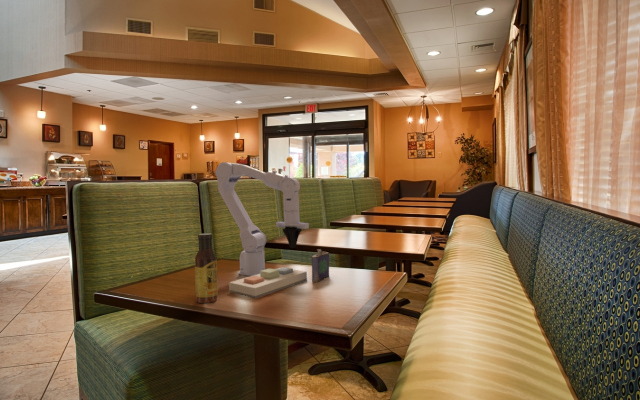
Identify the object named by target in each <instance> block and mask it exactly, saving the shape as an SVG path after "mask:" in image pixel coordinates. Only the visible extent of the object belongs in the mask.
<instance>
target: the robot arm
mask: <svg viewBox="0 0 640 400" xmlns="http://www.w3.org/2000/svg"><path fill="white" fill-rule="evenodd" d="M214 174H215V176H216V179H217V181H216V182H217V190H218V193H219V195H220V196H221V198H222V200H223V202H224V203H225V205H226V207H227V209H228V210H229V213H230V214H231V216H232V218H233V219H234V222H235V223H236V225H237V226H238V228H239V238H240V240H241V241H240V242H241V247H242V248H243V250H242V251H241V252H240V254H239V272H237V273H238V275H242V276H247V277H250V276H253V275H257V274H260V271H262V270H265V269H266V264H265V261H266V260H265V247H264V246H265V245H266V244H267V237H266V234H265V233H264V232H262V231H261V229H260V228H259V227H258V226H257V225H255V224H254V223H253V221H252V219H251V218H250V216H249V214H248V212H247V210H246V209H245V206H244V205H243V203H242V201H241V199H240V198H239V196H238V194H237V192H236V190H235V186H236V184H237V182H238V181H239V179H241V177H245V176H246V177H250V178H253V179H256V180H259V181H262V182H263V184H264V185H265V186H267V187H269V188H272V189H275V190H276V191H277V190H278V191H281V192H282V193H283V194H282V195H283V197H282V198H283V221H276V222H275V227H276V228H284V229H282V232H283V234H284V235H285V237H286V239H287V242H288V246H289V248H290V249H294V248H296V247H297V243H298V239H299V237H300V234H301V232H302V229H303V230H309V228H310V223H309V222H301V221H300V220H301V219H300V198H299V197H300V196H299V191H300V189H301V182H300V181H299V180H298V179H297V178H295V177H289V175H287V174H285V175H284V174H281V173H278V171H277V170H275V169H274V170H273V169H272V170H269V171H267V172H265V171H262V170H259V169H257V168H255V167H254V168H253V167H252V166H249V165H246V164H243V163H238V162H237V163H236V162H233V163H232V162H227V161H223V162H220V163H219V164H218V165H217V167H216V169H215V171H214Z"/></svg>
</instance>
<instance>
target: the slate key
mask: <svg viewBox="0 0 640 400" xmlns="http://www.w3.org/2000/svg"><path fill="white" fill-rule="evenodd" d="M279 268H280V269H278V268H275V269H276V270H279V274H282V275H286V274H289V273H292V272H293V269H294V268H289V267H283V266H282V268H281V267H279Z"/></svg>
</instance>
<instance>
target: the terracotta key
mask: <svg viewBox="0 0 640 400" xmlns="http://www.w3.org/2000/svg"><path fill="white" fill-rule="evenodd" d="M247 277H248V278H246V277H244V278H245V279H244V283H248V284H253V285H254V284H257V283H260V282H263V281H264V278H263V277H258V276H252V277H250V276H247Z"/></svg>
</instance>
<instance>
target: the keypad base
mask: <svg viewBox="0 0 640 400" xmlns="http://www.w3.org/2000/svg"><path fill="white" fill-rule="evenodd" d="M280 268H283V266H282V267H279V268H277V269H280ZM292 269H293V272H292V273H289V274H286V275H282V274H279V277H276V278H273V279H264V281H263V282H260V283H257V284H254V285H253V284H248V283H244V279H245V278H248V277H252V276H247V277H244V278H240V279H237V280H233V281H230V282H228V283H229V284H228V286H229V287H228V288H229V289H228V290H229V293H232V294H235V295H239V296H243V297H248V298H251V299H259V298H262V297H264V296H267V295H270V294H273V293H275V292H279V291H282V290H284V289H287V288H290V287H292V286H293V287H294V286H296V285H298V284H299V285H300V284H302V283H304V282H307V281H308V277H307V276H308V274H307V271H306V270H299V269H294V268H292ZM253 276H258V277H260V274H257V275H253Z"/></svg>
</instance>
